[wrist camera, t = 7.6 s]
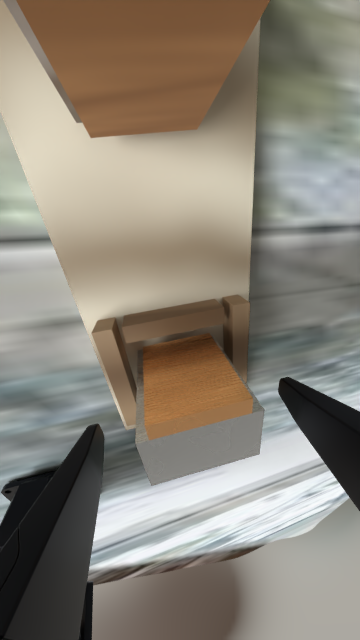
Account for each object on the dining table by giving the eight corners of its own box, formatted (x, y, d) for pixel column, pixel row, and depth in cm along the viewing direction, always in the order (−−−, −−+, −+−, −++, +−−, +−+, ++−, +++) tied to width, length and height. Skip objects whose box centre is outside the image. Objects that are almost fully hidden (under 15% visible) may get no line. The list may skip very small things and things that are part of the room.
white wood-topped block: (214, 369, 14) (259, 453, 9) (147, 384, 14) (151, 485, 8) (211, 324, 12) (265, 395, 7) (134, 339, 12) (130, 429, 6)
